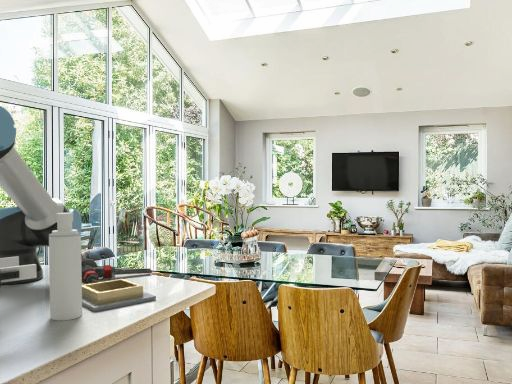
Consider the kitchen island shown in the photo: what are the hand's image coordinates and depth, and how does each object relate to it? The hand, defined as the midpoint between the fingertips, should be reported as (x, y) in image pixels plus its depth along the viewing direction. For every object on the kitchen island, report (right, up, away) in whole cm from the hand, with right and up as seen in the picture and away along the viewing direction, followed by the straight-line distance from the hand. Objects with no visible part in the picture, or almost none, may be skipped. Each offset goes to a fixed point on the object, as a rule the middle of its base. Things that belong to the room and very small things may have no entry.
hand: (27, 266), depth 98 cm
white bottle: (+6, -12, +6) cm, 15 cm away
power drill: (+4, -12, +46) cm, 47 cm away
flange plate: (+11, -12, +21) cm, 27 cm away
